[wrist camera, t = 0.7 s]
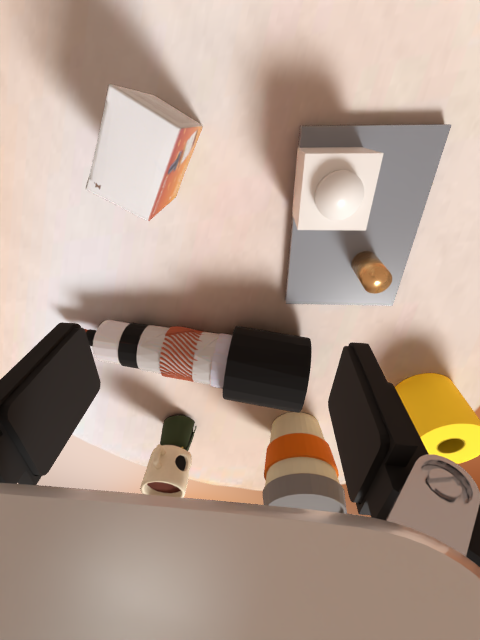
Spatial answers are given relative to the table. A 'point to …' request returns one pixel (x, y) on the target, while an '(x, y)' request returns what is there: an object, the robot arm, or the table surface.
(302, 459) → the reusable coffee cup
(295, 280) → the plate
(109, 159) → the small box
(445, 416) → the yellow toilet paper roll
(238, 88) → the table surface
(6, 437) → the robot arm
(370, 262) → the brass cylinder
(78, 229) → the table surface
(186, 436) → the character mug
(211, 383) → the black and white bottle
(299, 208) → the white push button box
